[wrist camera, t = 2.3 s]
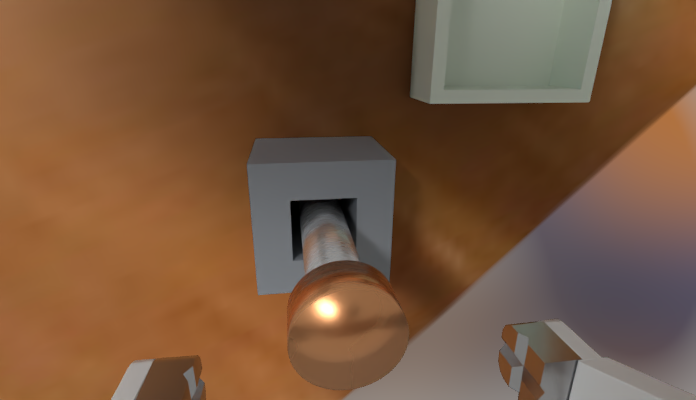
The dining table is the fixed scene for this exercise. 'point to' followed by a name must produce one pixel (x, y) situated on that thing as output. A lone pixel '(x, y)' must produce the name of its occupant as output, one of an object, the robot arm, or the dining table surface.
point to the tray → (506, 50)
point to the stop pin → (341, 307)
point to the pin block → (314, 184)
